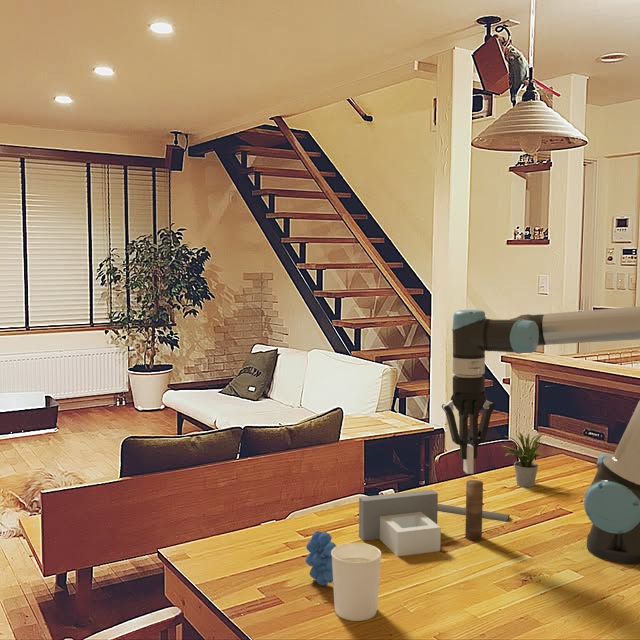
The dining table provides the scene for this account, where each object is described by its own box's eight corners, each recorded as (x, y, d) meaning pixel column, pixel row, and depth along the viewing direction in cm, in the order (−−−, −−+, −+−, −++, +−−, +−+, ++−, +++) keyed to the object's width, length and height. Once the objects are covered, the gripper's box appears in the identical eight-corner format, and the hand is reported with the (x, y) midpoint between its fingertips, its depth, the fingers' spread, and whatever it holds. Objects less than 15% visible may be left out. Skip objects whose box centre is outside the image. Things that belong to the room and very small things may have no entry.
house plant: (521, 473, 237) (522, 423, 236) (559, 484, 227) (561, 431, 225) (493, 482, 228) (494, 430, 227) (531, 493, 218) (533, 439, 216)
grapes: (354, 591, 155) (354, 535, 154) (325, 598, 151) (326, 542, 150) (325, 570, 165) (326, 518, 164) (299, 577, 161) (299, 523, 160)
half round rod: (507, 524, 195) (507, 517, 195) (435, 512, 203) (435, 506, 203) (510, 519, 199) (510, 512, 198) (439, 508, 207) (439, 501, 207)
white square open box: (440, 551, 176) (440, 527, 175) (397, 557, 173) (397, 532, 172) (420, 535, 186) (420, 511, 186) (379, 539, 183) (379, 516, 183)
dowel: (484, 539, 183) (486, 484, 182) (470, 541, 182) (471, 485, 180) (476, 533, 187) (477, 479, 185) (462, 535, 185) (463, 480, 184)
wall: (437, 531, 188) (437, 493, 187) (363, 540, 182) (363, 501, 181) (431, 527, 191) (432, 489, 190) (358, 536, 185) (359, 497, 184)
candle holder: (377, 599, 151) (378, 542, 150) (383, 623, 142) (384, 562, 140) (329, 599, 151) (329, 542, 150) (332, 623, 141) (332, 563, 140)
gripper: (447, 378, 172) (447, 478, 174) (501, 376, 174) (500, 474, 176) (437, 373, 179) (437, 469, 181) (488, 371, 181) (487, 466, 183)
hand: (468, 472), depth 178 cm, fingers closed
